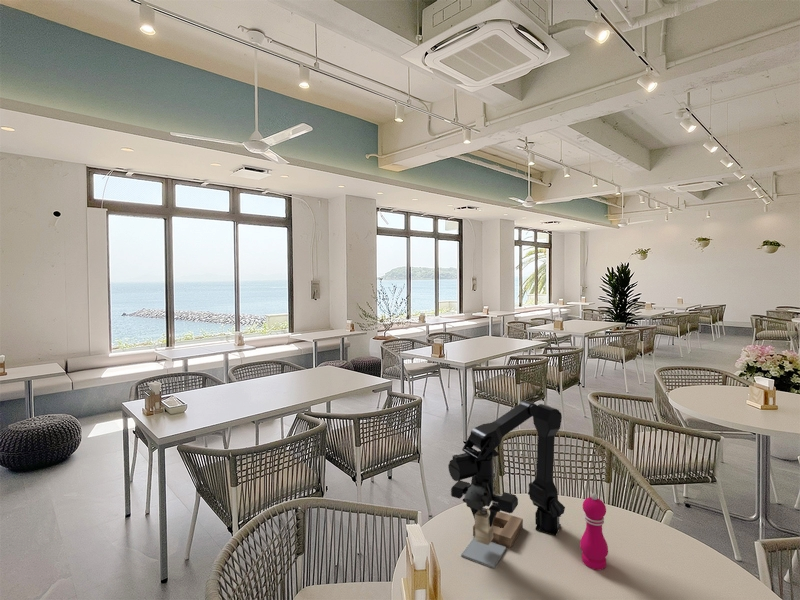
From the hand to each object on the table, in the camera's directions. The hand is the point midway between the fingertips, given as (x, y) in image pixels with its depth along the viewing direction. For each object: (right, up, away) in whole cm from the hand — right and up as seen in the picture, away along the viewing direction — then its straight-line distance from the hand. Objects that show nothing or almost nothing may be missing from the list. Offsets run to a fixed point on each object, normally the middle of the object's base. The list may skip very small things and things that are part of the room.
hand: (483, 523), depth 125 cm
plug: (0, -5, 0) cm, 5 cm away
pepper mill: (+30, -9, -5) cm, 32 cm away
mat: (0, -9, 0) cm, 9 cm away
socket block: (+7, -8, +10) cm, 15 cm away
